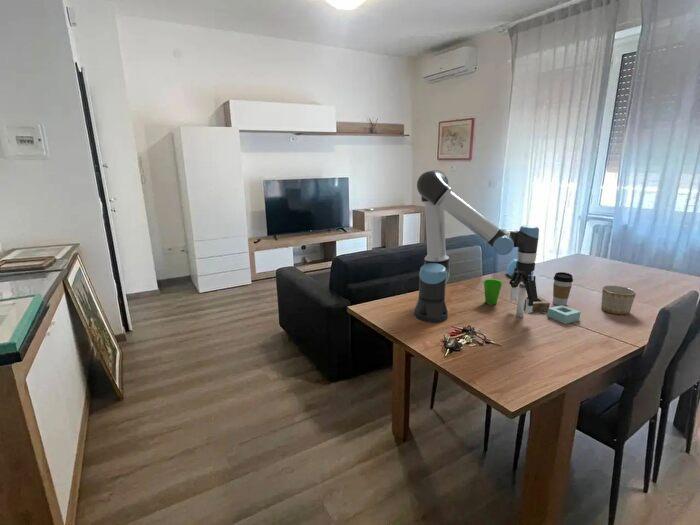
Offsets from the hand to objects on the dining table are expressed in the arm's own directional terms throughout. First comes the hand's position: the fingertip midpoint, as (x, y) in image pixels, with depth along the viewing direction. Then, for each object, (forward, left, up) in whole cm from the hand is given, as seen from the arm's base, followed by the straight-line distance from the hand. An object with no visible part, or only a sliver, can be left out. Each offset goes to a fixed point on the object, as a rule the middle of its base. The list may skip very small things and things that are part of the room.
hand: (520, 306), depth 169 cm
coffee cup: (+27, +13, -5) cm, 30 cm away
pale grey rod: (0, 0, -5) cm, 5 cm away
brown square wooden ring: (+12, +9, -5) cm, 16 cm away
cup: (-6, +17, -5) cm, 19 cm away
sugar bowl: (+30, +59, -5) cm, 66 cm away
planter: (+47, +2, -5) cm, 47 cm away
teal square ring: (+18, -4, -5) cm, 19 cm away
